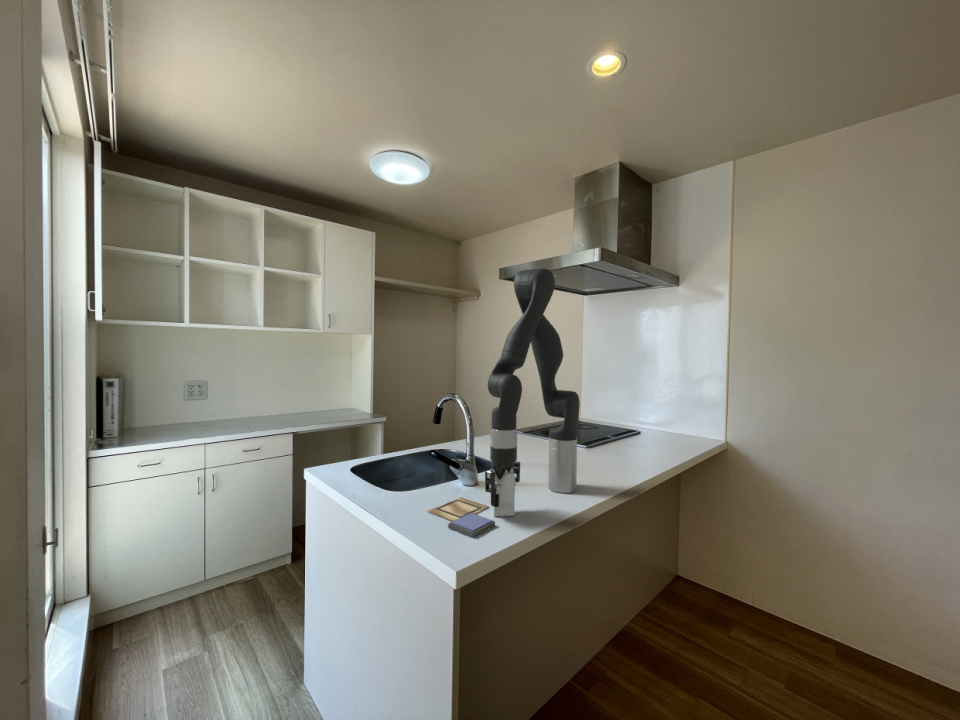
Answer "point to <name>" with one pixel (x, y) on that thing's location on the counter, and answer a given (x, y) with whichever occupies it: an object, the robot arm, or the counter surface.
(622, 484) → the counter surface
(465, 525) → the ink pad
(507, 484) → the skincare box
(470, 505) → the print sheet
